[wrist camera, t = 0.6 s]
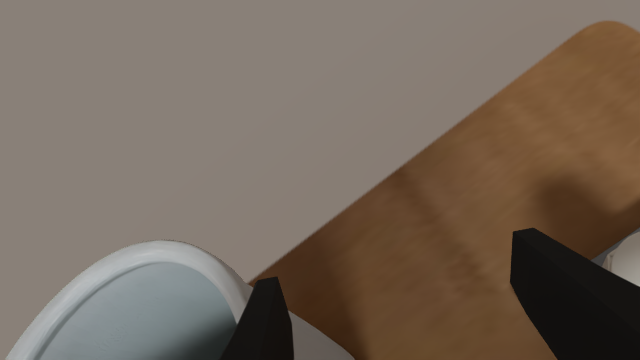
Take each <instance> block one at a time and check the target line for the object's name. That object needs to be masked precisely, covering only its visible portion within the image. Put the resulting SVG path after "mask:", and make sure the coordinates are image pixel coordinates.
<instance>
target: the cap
mask: <svg viewBox="0 0 640 360" xmlns="http://www.w3.org/2000/svg"><path fill="white" fill-rule="evenodd" d="M602 267H603V268H605V269H606V270H608V271H610V272H612V273H614V274H616V275H618V276H620V277H621V278H623V279H625V280H627V281H629V282H631V283H633V284H635V285H637V286H639V287H640V232H637V233H635V234H633V235H631V236H629V237H628V238H626V239H625V240H624V241H623V242H622V243H621V244H620V245H619V246H618V248H616V249H615V250H613V251H612V252H610V253H609V254H607V257H606V259H605V261H604V263H603V265H602Z"/></svg>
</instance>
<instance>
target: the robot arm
mask: <svg viewBox="0 0 640 360" xmlns="http://www.w3.org/2000/svg"><path fill="white" fill-rule="evenodd" d="M510 283H511V285H512V287H513V289H514V291H515V293H516V295H517V297H518V299H519V301H520V303H521V305H522V307H523V309H524V310H525V312H526V314H527V315H528V317H529V318H530V320H531V321H532V323H533V324H534V326H535V327H536V329H537V330H538V332H539V333H540V335H541V336H542V337H543V339H544V340H545V342H546V343H547V345H548V346H549V348H550V349H551V350H552V352H553V353H554V355H555V356H556V358H557V359H558V360H640V287H639V286H637V285H635V284H633V283H631V282H629V281H627V280H625V279H623V278H621V277H620V276H618V275H616V274H614V273H612V272H610V271H608V270H606V269H605V268H603V267H601V266H599V265H597V264H596V263H594V262H592V261H590V260H588V259H587V258H585V257H583V256H581V255H580V254H578V253H576V252H574V251H573V250H571V249H569V248H568V247H566V246H564V245H562V244H561V243H559V242H557V241H556V240H554V239H552V238H551V237H549V236H547V235H545V234H544V233H542V232H540V231H538V230H537V229H535V228H529V229H524V230H519V231H513V238H512V256H511V274H510ZM218 360H294V345H293V331H292V322H291V319H290V315H289V312H288V309H287V306H286V303H285V299H284V296H283V293H282V290H281V287H280V283H279V280H278V277H272V278H267V279H262V280H258V281H257V282H256V283H255V285H254V288H253V290H252V293H251V295H250V298H249V300H248V302H247V304H246V307H245V309H244V311H243V313H242V315H241V318H240V320H239V322H238V324H237V326H236V328H235V330H234V332H233V334H232V336H231V338H230V340H229V341H228V343H227V345H226V347H225V349H224V350H223V352H222V354H221V356H220V357H219V359H218Z"/></svg>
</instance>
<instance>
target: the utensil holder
mask: <svg viewBox="0 0 640 360" xmlns="http://www.w3.org/2000/svg"><path fill="white" fill-rule="evenodd" d="M252 290H253V287H251V286H250V285H248V284H246V283H245V282H244V281H243V280H242V279H241V278H240V277H239V276H238V274H237V273H236V272H235V271H234V270H233V269H232V268H230V267H229V266H228V265H227V264H225V263H224V262H223V261H222V260H220V259H218V258H217V257H215V256H214V255H212V254H210V253H209V252H207V251H205V250H203V249H201V248H199V247H197V246H194V245H192V244H188V243H185V242H181V241H174V240H152V241H146V242H141V243H137V244H134V245H131V246H127V247H125V248H123V249H120V250H118V251H116V252H113V253H112V254H109V255H107V256H106V257H104V258H102V259H101V260H99V261H97V262H96V263H94V264H93V265H91V266H90V267H88V268H87V269H85V270H84V271H83V272H82V273H80V274H79V275H78V276H77V277H76V278H74V279H73V280H72V281H71V282H70V283H68V284H67V285H66V286H65V287H64V288H63V289H62V290H61V291H60V292H59V293H58V294H57V295H56V296H55V297H54V298H53V299H52V300H51V301H50V302H49V303H48V304H47V305H46V306H45V308H44V309H43V310H42V311H41V312H40V313H39V314H38V316H37V317H36V318H35V319H34V320H33V322H32V323H31V324H30V325H29V327H28V328H27V329H26V330H25V332H24V333H23V334H22V335H21V337H20V338H19V340H18V341H17V343H16V344H15V346H14V347H13V348H12V350H11V351H10V353H9V354H8V356H7V357H6V359H5V360H218V359H219V357H220V356H221V354H222V352H223V350H224V349H225V347H226V345H227V343H228V341H229V340H230V338H231V336H232V334H233V332H234V330H235V328H236V326H237V324H238V322H239V320H240V318H241V315H242V313H243V311H244V309H245V307H246V304H247V302H248V300H249V298H250V295H251V293H252ZM288 312H289V315H290V319H291V322H292V331H293V345H294V360H355V359H354V358H353V357H352V356H351V355H350V354H349V353H348V352H347V351H346V350H345V349H343V348H342V347H341V346H340V345H338V344H337V343H335V342H334V341H333V340H331V339H330V338H329V337H327V336H326V335H324V334H323V333H322V332H320V331H319V330H318V329H316V328H315V327H313V326H312V325H310V324H309V323H307V322H306V321H304V320H303V319H301V318H299V317H298V316H296V315H295V314H293V313H292V312H290V311H289V310H288Z"/></svg>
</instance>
